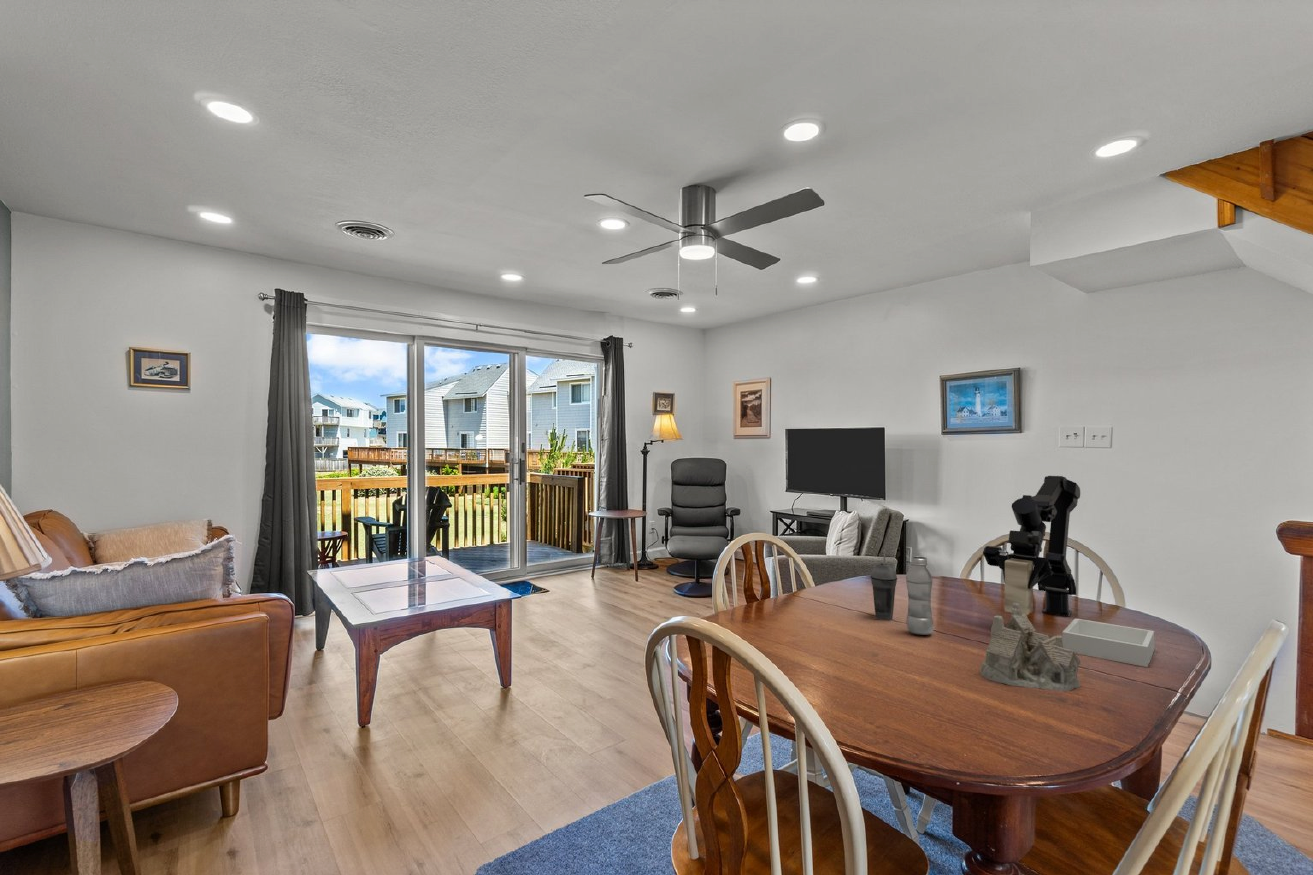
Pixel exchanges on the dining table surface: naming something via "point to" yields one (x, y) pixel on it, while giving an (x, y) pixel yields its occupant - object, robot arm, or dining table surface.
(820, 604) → the dining table surface
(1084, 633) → the box
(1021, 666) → the ceramic cottage
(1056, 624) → the dining table surface
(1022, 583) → the birch block
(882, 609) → the beverage cup
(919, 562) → the plastic bottle
